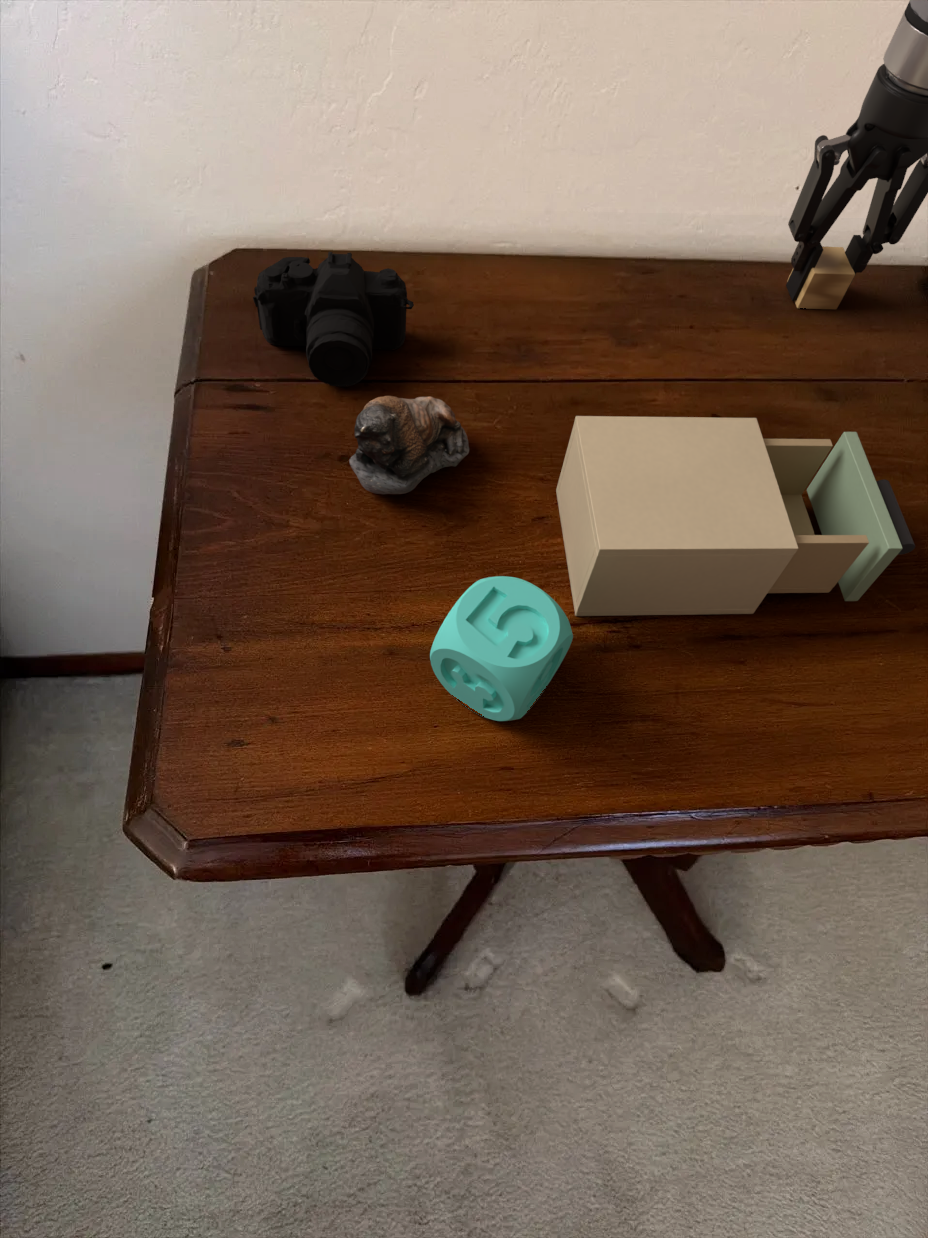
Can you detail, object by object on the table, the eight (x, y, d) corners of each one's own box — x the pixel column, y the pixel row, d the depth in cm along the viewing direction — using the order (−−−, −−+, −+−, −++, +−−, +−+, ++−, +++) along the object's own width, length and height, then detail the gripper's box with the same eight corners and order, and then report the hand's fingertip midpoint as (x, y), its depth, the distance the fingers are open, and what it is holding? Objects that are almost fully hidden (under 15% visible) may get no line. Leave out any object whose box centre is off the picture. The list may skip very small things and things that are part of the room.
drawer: (858, 489, 83) (900, 431, 76) (901, 600, 77) (950, 548, 70) (668, 489, 81) (694, 429, 74) (695, 603, 75) (726, 549, 68)
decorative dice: (482, 613, 73) (493, 557, 67) (563, 665, 71) (583, 613, 65) (425, 681, 70) (431, 629, 63) (509, 737, 68) (524, 690, 61)
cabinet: (719, 490, 83) (756, 417, 74) (753, 614, 76) (798, 548, 67) (555, 490, 81) (575, 415, 73) (575, 616, 74) (599, 549, 66)
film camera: (253, 387, 84) (241, 310, 77) (262, 318, 89) (251, 240, 82) (411, 393, 86) (415, 318, 78) (411, 325, 91) (415, 249, 83)
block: (825, 282, 100) (843, 246, 96) (836, 309, 98) (855, 274, 94) (786, 281, 100) (803, 245, 96) (797, 308, 97) (814, 273, 94)
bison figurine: (430, 417, 84) (436, 334, 76) (483, 459, 82) (496, 378, 74) (336, 483, 79) (331, 401, 71) (390, 529, 77) (392, 451, 68)
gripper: (842, 93, 76) (746, 314, 96) (1028, 102, 78) (896, 317, 98) (818, 48, 80) (731, 269, 100) (995, 57, 82) (875, 273, 101)
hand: (813, 293), depth 99 cm, fingers closed on block, 4 cm apart
